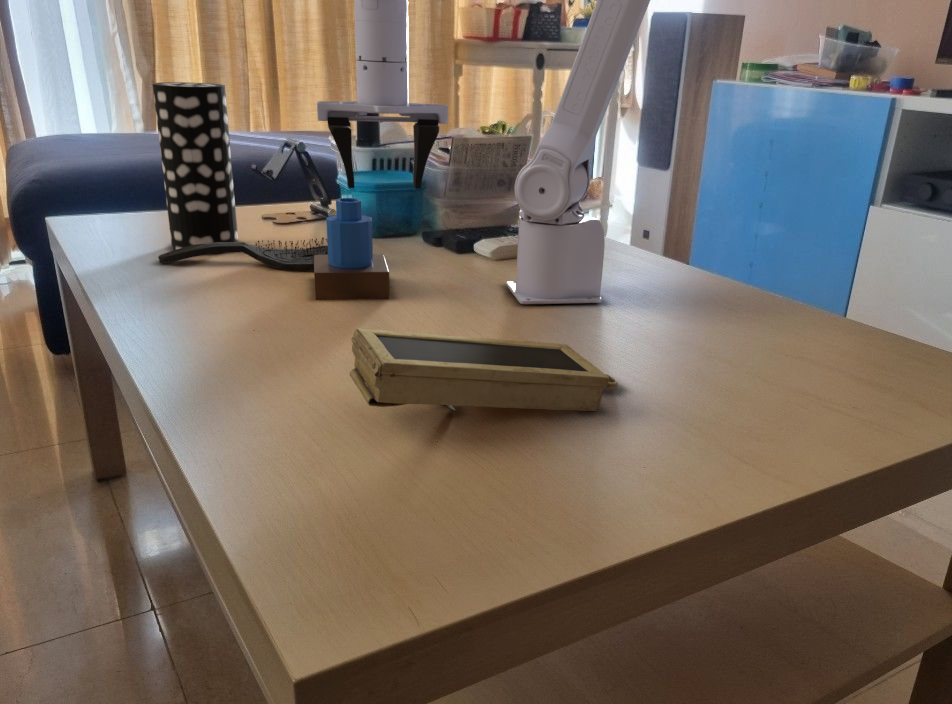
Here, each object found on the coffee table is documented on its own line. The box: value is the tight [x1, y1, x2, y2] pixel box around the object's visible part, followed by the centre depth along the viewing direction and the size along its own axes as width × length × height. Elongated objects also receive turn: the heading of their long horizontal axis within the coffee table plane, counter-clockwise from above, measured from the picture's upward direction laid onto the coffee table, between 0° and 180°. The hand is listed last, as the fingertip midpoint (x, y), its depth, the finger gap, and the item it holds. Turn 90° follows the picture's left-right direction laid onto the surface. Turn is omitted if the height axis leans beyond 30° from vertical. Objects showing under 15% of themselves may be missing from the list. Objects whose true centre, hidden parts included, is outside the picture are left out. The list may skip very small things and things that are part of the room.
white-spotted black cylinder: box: [152, 81, 239, 255], centre depth 106 cm, size 8×8×20 cm
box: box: [349, 327, 619, 412], centre depth 66 cm, size 8×22×5 cm, turn 114°
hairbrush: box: [157, 237, 328, 272], centre depth 103 cm, size 8×4×25 cm
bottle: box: [325, 197, 374, 269], centre depth 93 cm, size 5×5×7 cm
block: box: [313, 253, 391, 301], centre depth 95 cm, size 8×8×3 cm
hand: (384, 187), depth 97 cm, fingers open, 7 cm apart
